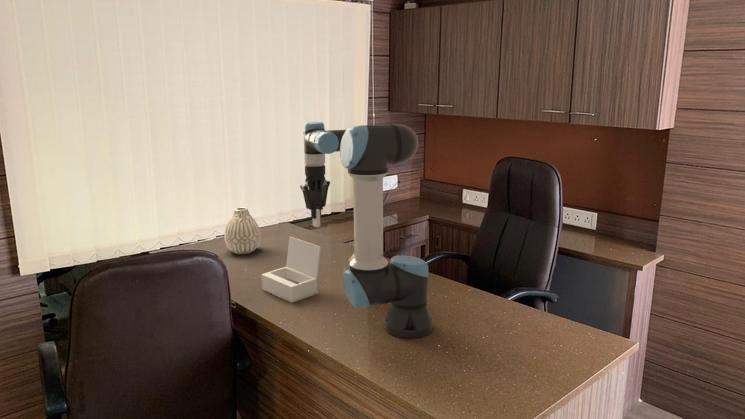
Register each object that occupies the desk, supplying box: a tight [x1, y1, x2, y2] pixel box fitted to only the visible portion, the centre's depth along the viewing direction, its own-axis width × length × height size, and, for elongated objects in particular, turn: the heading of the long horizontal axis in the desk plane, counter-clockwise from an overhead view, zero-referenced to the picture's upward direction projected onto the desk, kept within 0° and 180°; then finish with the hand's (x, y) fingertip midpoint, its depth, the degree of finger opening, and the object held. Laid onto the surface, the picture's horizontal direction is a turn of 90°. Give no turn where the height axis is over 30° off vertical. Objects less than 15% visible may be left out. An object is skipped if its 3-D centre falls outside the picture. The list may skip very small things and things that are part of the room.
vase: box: [223, 206, 262, 255], centre depth 250 cm, size 16×16×20 cm
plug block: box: [285, 278, 299, 284], centre depth 205 cm, size 6×4×4 cm
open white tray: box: [261, 266, 319, 304], centre depth 207 cm, size 18×12×6 cm, turn 46°
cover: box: [285, 236, 322, 279], centre depth 210 cm, size 18×12×1 cm
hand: (316, 226), depth 212 cm, fingers closed
